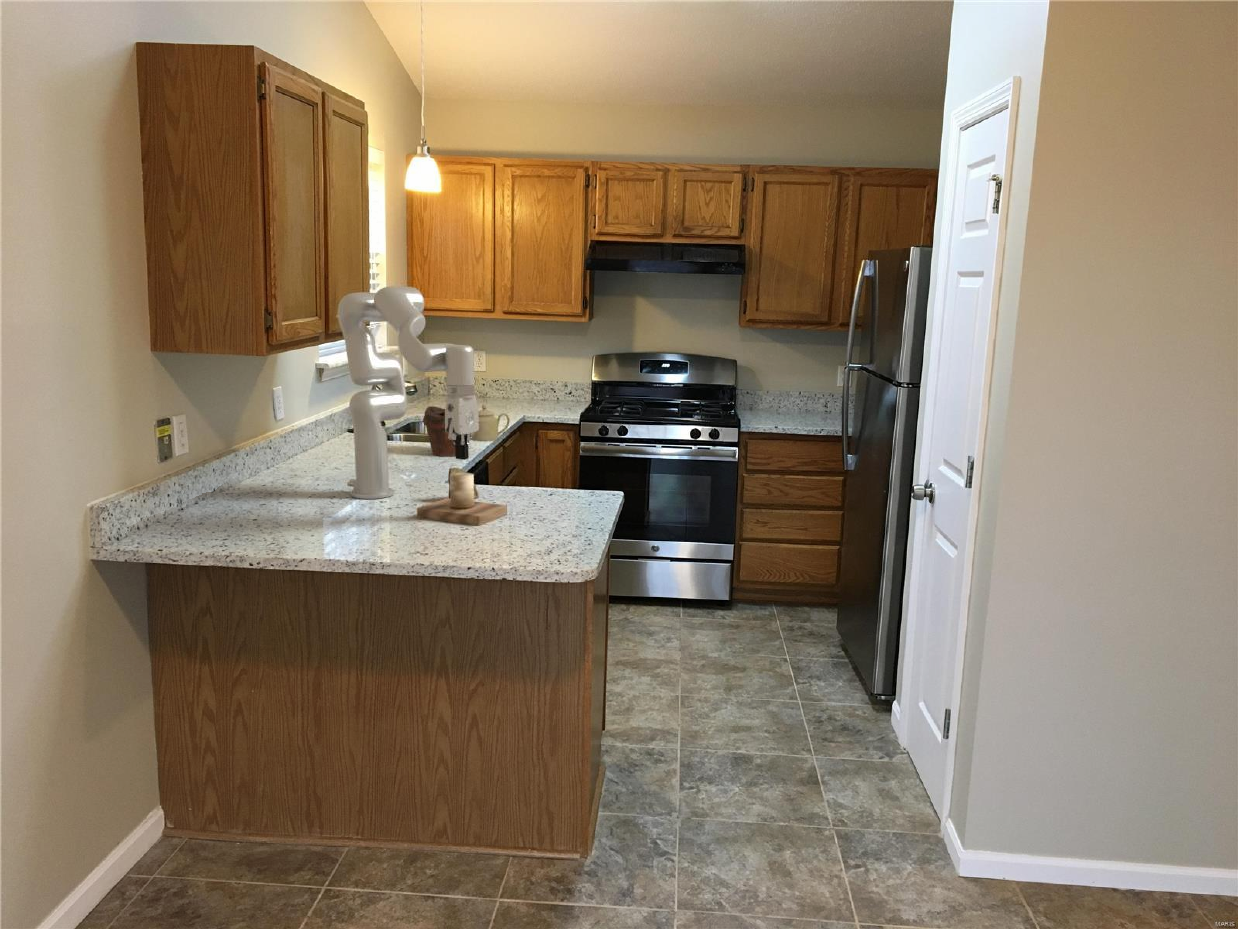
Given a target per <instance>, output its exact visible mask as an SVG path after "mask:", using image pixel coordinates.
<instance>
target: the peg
mask: <svg viewBox="0 0 1238 929" xmlns="http://www.w3.org/2000/svg"><path fill="white" fill-rule="evenodd" d="M474 476H475V474H474V473H471V472H467V473H454V474H450V506H451V507H454V508H456V509H464V510H466V509H468V508H469V507H472V506H474V502H475V498H474V484H475V483H474V482H475V481H474V480H475V478H474Z"/></svg>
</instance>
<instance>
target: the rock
mask: <svg viewBox="0 0 1238 929" xmlns="http://www.w3.org/2000/svg"><path fill="white" fill-rule="evenodd" d="M454 473H468V472H466V471H465V470H463V469H461V468H458V467H450V468H449V469H448V476H447V477H448V479H447V480H448V487H449V488H448V495H447V496H448V497H447V498H449V499H450V474H454ZM477 498H480V493H479V491H478V489H477V487H476V484H475V483H474V499H477Z"/></svg>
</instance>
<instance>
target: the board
mask: <svg viewBox="0 0 1238 929" xmlns="http://www.w3.org/2000/svg"><path fill="white" fill-rule="evenodd" d="M416 513H417V514H416V517H417V518H420V519H428V520H434V521H442V522H450V523H459V524H464V525H465V524H466V525H470V526H471V525H472V526H482V525H485V524H487V523H489V522H492V521H494V520H497V519H500V518H502V517H505V516H508V505H507V504H505V505H504V504H497V503H488V502H481V501H474V506H472V507H469V508H468V509H466V510H464V509H456V508H454V507H451V506H450V499H449V497H446V498H444V499H443V498H442V499H441V500H438V501H434V502H430V503H428V504H425V505H423V506H420V507H417V508H416Z"/></svg>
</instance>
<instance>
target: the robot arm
mask: <svg viewBox="0 0 1238 929" xmlns="http://www.w3.org/2000/svg"><path fill="white" fill-rule="evenodd" d="M424 309H425V298H424V296H423V293H422V292H421V291H420V290H419V289H418V288H415V287H413V286H385V287H381V288H379V290H377V291H376V292H367V291H366V292H363V291H362V292H361V291H360V292H352V293H349V294H346V295H345V296H343V297H342V299H341V300H340V302H339V304H338V308H337V319H338V324H339V328H340V330H341V332H342V335H343V339H344V344H345V352H346V359H347V364H348V371H349V376H350V378H351V381H352V383H354V384H355V385H357V386H366V387H367V386H378V385H379V386H380V385H381V388H380V389H379V388H377V389H367V390H366V389H365V390H361V391H357V392H356V393H354V394H353V395H352V396H351V398H350V400H349V405H348V406H349V408H348V409H349V413H350V417H351V421H352V428H353V439H354V440H353V441H354V442H353V444H354V458H355V459H354V463H355V464H354V465H355V466H354V467H355V478H350V479H349V481H347V483H346V486H348V487H353V489H352V491H351V492H350V496H351V497H353V498H355V499H362V500H363V499H364V500H371V499H372V500H375V499H383V498H388V497H392V496H393V495H394V494H395V489H393V488H391V487H390V483H389V482H390V481H389V479H390V478H389V453H388V452H389V450H388V435H387V433H386V431H385V429H384V427H383V426H382V425H381V422H385V421H393V420H398V419H401V418H403V417H404V416H405V415H406V413H407V410H408V396H407V389H406V383H405V376H404V370H403V367H402V363H401V361H400V360H399V357H398V356H396V355H395V354H393V353H391V352H378V351H377V350H378V349H377V348H376V340H375V337H374V334H373V333H372V331H371V330H370V328H369V327H368V326H367V325H366V323H367V322H369V323H379V322H380V323H383V322H384V323H385V322H386V323H388V324H389V325H390V326H391V327H392V328H393V329H394V330H395V331H396V332H397V334H398V336H397V344H398V348H399V352H400V354H401V356H402V357H403V359H404V360H405V361H406V362H407V363H408V364H409V365H410V366H411V367H412V368H413V369H415V370H416V371H418V372H421V373H431V372H432V373H435V372H445V393H446V396H445V397H446V399H445V407H444V409H445V430H446V433H448V434H449V435H448V439H451V440H453V441H454V445H455V456H454V457H455V459H456V460H469V458H470V456H469V454H470V453H469V451H470V450H469V444H470V441H471V438H472V435H474V432H476V431H478V429H479V416H478V411H479V407H478V402H477V397H476V395H475V393H476V392H475V352H474V348H473V347H472V346H471V345H468V344H465V345H464V344H454V343H450V342H449V343H446V342H445V343H444V342H441V343H439V342H438V343H422V341H420V340H419V338H417V337H418V336H419V335H420V334H421V333H422V332H423V330H424V329H425V327H426V321H427V320H426V318H425V316H424V315H423V313H422V312H423V311H424Z"/></svg>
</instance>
